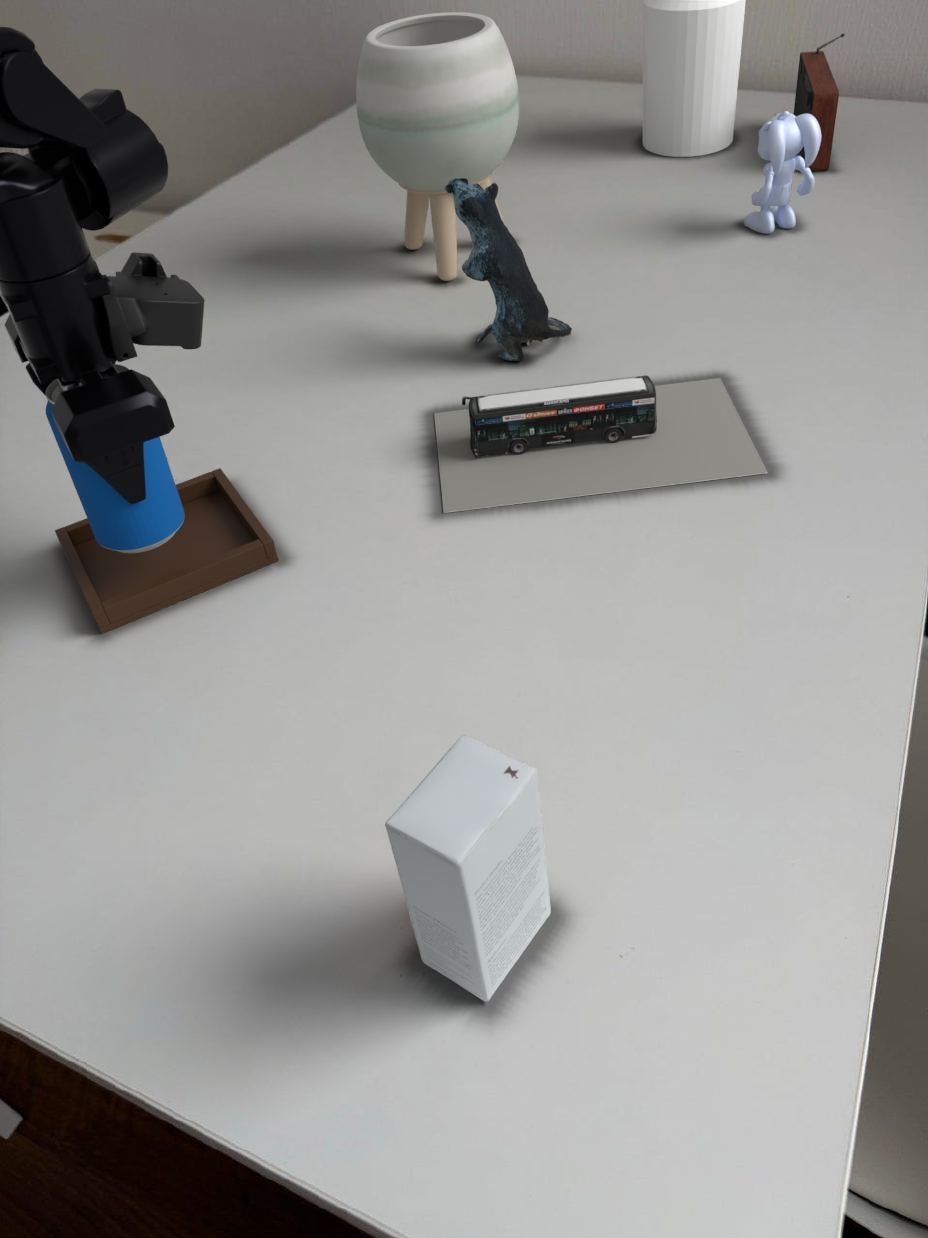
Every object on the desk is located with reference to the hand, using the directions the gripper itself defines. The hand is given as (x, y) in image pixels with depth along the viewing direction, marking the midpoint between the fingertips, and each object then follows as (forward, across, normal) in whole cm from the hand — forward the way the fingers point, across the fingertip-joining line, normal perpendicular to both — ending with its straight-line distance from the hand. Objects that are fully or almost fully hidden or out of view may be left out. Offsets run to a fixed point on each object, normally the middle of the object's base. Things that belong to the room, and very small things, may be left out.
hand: (124, 477), depth 72 cm
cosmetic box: (+9, -40, -5) cm, 41 cm away
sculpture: (+8, +12, -39) cm, 42 cm away
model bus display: (+8, -6, -35) cm, 37 cm away
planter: (+8, +33, -44) cm, 56 cm away
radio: (+8, +30, -92) cm, 97 cm away
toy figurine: (+8, +16, -74) cm, 76 cm away
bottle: (+8, +43, -84) cm, 95 cm away
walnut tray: (+8, +1, -1) cm, 8 cm away
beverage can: (+5, 0, 0) cm, 5 cm away
